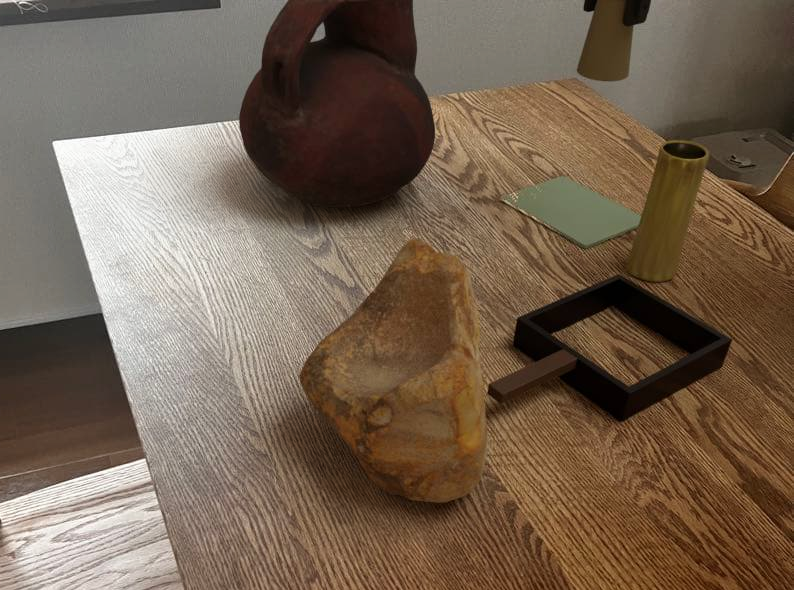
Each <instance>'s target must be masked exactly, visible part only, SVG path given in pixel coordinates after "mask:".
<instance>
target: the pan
mask: <svg viewBox="0 0 794 590" xmlns="http://www.w3.org/2000/svg"><path fill="white" fill-rule="evenodd" d="M612 307H613V308H614V309H616V310H617V311H619V312H621V313H623V314H624V315H626V316H627V317H629V318H631V319H632V320H633V321H636V322H637V323H639V324H640V325H642V326H644V327H645V328H647V329H649V330H651V331H652V332H654V333H655V334H658V336H660V337H662V338H664V339H665V340H667V341H668V342H670V343H671V344H673V345H675V346H677V347H678V348H680V349H682V350H683V351H685V352H687V353H688V354H689V355H686V356H684V357H683V358H681V359H679V360H677V361H675V362H674V363H671V364H669V365H668V366H666V367H663V368H662V369H660V370H658V371H656V372H654V373H652V374H650V375H648V376H646V377H645V378H642V379H640V380H639V381H636V382H635V383H633V384H631V385H628V384H627V383H625V382H623V381H622V380H620V379H619V378H617V377H616V376H614V375H612V373H610V372H608V371H607V370H605V369H604V368H603V367H601V366H599V365H598V364H597V363H595V362H593V361H592V360H591V359H588V358H587V357H585V356H584V355H583V354H581V352H578V351H577V350H576V349H574V348H572V347H571V346H570V345H567V344H566V343H564V341H562V340H560V339H559V338H558V337H555V336H554V335H553V334H554V333H555V334H556V333H557V332H559V331H561V330H563V329H566V328H567V327H570V326H572V325H574V324H577V323H579V322H581V321H583V320H585V319H588V318H590V317H592V316H594V315H597V314H599V313H601V312H603V311H606V310H607V309H610V308H612ZM512 341H513V342H512V347H514V348H515V349H516V350H518V351H519V352H520V353H522V354H523V355H525V356H526V357H528V358H529V359H530V360H532V361H533V363H530V364H528V365H526V366H524V367H521V368H520V369H518V370H515V371H513V372H511V373H509V374H507V375H505V376H503V377H501V378H498V379H496V380H494V381H492V382H490V383H488V387H487V393H486V394H487V395H488V396H489V397H490V398H492V399H493V400H495V402H497V403H498V404H500V405H503V404H505V403H507V402H509V401H511V400H514V399H515V398H518V397H519V396H521V395H523V394H526V393H527V392H530V391H532V390H534V389H536V388H538V387H540V386H542V385H544V384H546V383H548V382H550V381H552V380H555V379H556V378H558V379H559V380H561V381H562V382H563V383H564V384H565V385H568V386H569V387H570V388H571V389H573V390H574V391H576V392H577V393H579V394H580V395H581V396H582V397H584V398H586V399H587V400H588V401H590V402H591V403H593V404H595V405H596V406H597V407H599V408H600V409H601V410H603V411H604V412H606V413H607V414H609V415H610V416H612V417H613V418H614V419H616V420H617V421H619V422H620V423H622V422H624V421H626V420H627V419H628V420H629V418H631V417H634V416H635V415H637V414H640V413H641V412H642V411H644V410H646V409H648V408H651V406H653V405H655V404H657V403H659V402H661V401H663V400H664V399H667V398H668V397H671V396H672V395H674V394H675V393H678V392H679V391H681V390H683V389H684V388H687V387H689V386H690V385H692V384H694V383H697V382H698V381H699V380H701V379H703V378H705V377H707V376H709V375H711V374H712V373H714V372H716V371H718V370H720V369H722V368H723V365H724V363H725V361H726V358H727V355H728V352H729V350H730V347H731V345H732V342H733V338H731V337H729V336H727V335H726V334H724V333H723V332H721V331H719V330H718V329H716V328H714V327H712V326H711V325H708V323H705V322H704V321H702V320H700V319H698V318H696V317H695V316H693V315H691V314H689V313H688V312H686V311H684V310H682V309H681V308H679V307H677V306H676V305H674V304H673V303H670V302H669V301H667V300H665V299H664V298H662V297H660V296H658V295H657V294H655V293H653V292H651V291H649V290H648V289H646V288H644V287H643V286H641V285H639V284H637V283H635V282H634V281H632V280H630V279H629V278H627V277H625V276H624V275H622V274H620V273H617V274H615V275H613V276H610V277H608V278H606V279H604V280H603V279H602V281H599V282H597V283H594V284H592V285H589V286H588V287H587V286H586V287H585V288H582V289H580V290H578V291H575V292H574V293H571V294H569V295H567V296H564V297H562V298H558V299H557V300H554V301H553V302H551V303H548V304H545V305H543V306H541V307H539V308H536V309H534V310H532V311H530V312H527V313H525V314H523V315H520V316H518V317H516V323H515V329H514V335H513V340H512Z"/></svg>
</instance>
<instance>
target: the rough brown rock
mask: <svg viewBox="0 0 794 590" xmlns="http://www.w3.org/2000/svg"><path fill="white" fill-rule="evenodd" d="M480 335H481V333H480V321H479V311H478V304H477V300H476V295H475V291H474V288H473V283H472V278H471V275H470V272H469V270H468V269H467V267H466V265H465V264H464V262H463V261H462V260H461V259H460V258H458V257H457V256H455V255H453V254H450V253H445V252H442V251H437V250H435V249H434V248H432V246H431V245H429V244H428V243H427V242H426V241H424V240H422V239H421V238H419V237H413V238H411V239H410V240H408V241H407V242H405V244H404V245H403V246H402V247H401V249H400V250H399V251H398V253H397V254H396V256H395V258H394V259H393V261H392V262H391V264H390V265H389V267H388V268H387V270H386V272H385V273H384V274H383V276H382V278H381V280H380V281H379V282H378V283H377V285H376V286H375V288H374V289H373V290H372V291H371V292H370V293H369V295H368V296H366V297H365V299H364V300H363V301H362V303H361V304H360V305H359V306H358V307H357V308H356V310H355V311H354V312H353V313H352V314H351V315H350V316H349V317H348V318H347V319H346V320H344V321H343V322H341V323H340V324H339V325H338V326H337V327H336V328H335V329H334V330H333V331H332V332H331V333H329V334H328V335H326V336H325V337H324V338H323V339H321V340H320V341H319V343H318V345H317V346H316V347H315V349H314V350H313V351H312V352H311V353H310V355H308V357H307V358H306V360H305V362H304V363H303V366H302V368H301V369H300V373H299V375H298V376H299V381H300V385H301V387H302V389H303V391H304V394H305V395H306V397H307V399H308V400H309V402H310V403H311V404H312V406H313V408H314V410H315V412H316V413H317V414H318V416H319V417H320V418H321V419H322V420H323V421H324V422H325V424H328V426H330V428H331V429H332V430H333V431H334V433H336V434H337V435H338V436H339V437H340V438H342V440H343V441H344V442H345V444H346V445H347V446H348V447H349V448H350V449H351V451H352V452H353V454H354V456H355V457H356V458H357V460H358V462H359V464H360V465H361V466H362V468H363V469H364V471H365V472H366V474H367V475H368V477H369V479H371V480H372V482H373V483H374V484H375V485H376V486H377V487H378V488H379V489H380V490H381V491H383V492H386V493H388V494H389V495H391V496H395V495H398V496H401V497H404V498H405V499H408V500H410V501H417V502H427V503H448V502H451V501H454V500H458V499H461V498H463V497H465V496H466V495H469V494H470V493H471V492H472V491H473V490H475V489H476V487H477V486H478V485H479V484H480V481H481V480H482V478H483V473H484V470H485V469H484V468H485V465H486V461H487V457H488V451H487V437H488V435H487V433H488V432H487V431H488V430H487V415H486V414H487V413H486V405H485V394H484V382H483V381H484V380H483V374H482V368H481V356H480V355H481V354H480V342H481V336H480Z"/></svg>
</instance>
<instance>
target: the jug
mask: <svg viewBox="0 0 794 590" xmlns="http://www.w3.org/2000/svg"><path fill="white" fill-rule="evenodd" d="M414 17H415V15H414V0H287V2H286V3H285V4H284V5H283V7H282V8H281V10H280V11H279V13H278V14H277V16H276V17H275V19H274V20H273V22H272V24H271V26H270V27H269V30H268V32H267V34H266V36H265V40H264V44H263V47H262V52H261V66H260V67H261V68H260V69H259V70H258V71H257V72H256V73H255V74H254V76H253V78H252V80H251V82H250V83H249V85H248V87H247V89H246V91H245V94H244V96H243V98H242V102H241V105H240V110H239V116H238V126H239V132H240V136H241V141H242V145H243V147H244V150H245V152H246V154H247V156H248V158H249V159H250V160H251V162H252V163H253V165H254V166H255V167H256V169H257V170H258V171H259V172H260V174H262V176H264V177H265V178H266V179H267V180H268V181H269V182H270V183H272V184H273V185H275V186H276V187H277V188H278V189H280V190H281V191H283V192H284V193H286V194H288V195H290V196H291V197H293V198H295V199H297V200H300V201H301V202H305V203H308V204H310V205H314V206H315V205H316V206H320V207H328V208H349V207H358V206H364V205H368V204H369V205H370V204H373V203H376V202H379V201H382V200H385V199H387V198H389V197H390V196H392V195H394V194H396V193H397V192H399V191H401V190H402V189H403V188H405V187H406V186H407V185H409V184H410V183H412V182H413V181H414V180H415V179H416V178H417V177H418V176H419V174H421V172H422V171H423V170H424V168H425V166H426V164H427V162H428V161H429V159H430V157H431V155H432V152H433V149H434V145H435V140H436V125H435V124H436V123H435V120H434V114H433V109H432V105H431V101H430V99H429V96H428V94H427V92H426V91H425V88H424V86H423V84H422V83H421V81H419V79H418V78H417V76H416V64H417V58H418V41H417V40H418V39H417V34H416V27H415V26H416V25H415V18H414ZM322 24H323V28H324V37H322V38H321V39H318V40H313V38H314V36H315V35H316V33H317V30H318V28H319V27H320V26H321V25H322ZM312 40H313V41H312Z"/></svg>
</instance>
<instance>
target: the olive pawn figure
mask: <svg viewBox="0 0 794 590" xmlns="http://www.w3.org/2000/svg"><path fill="white" fill-rule="evenodd" d="M626 4H627V0H597V3H596V6H595V9H594V11H593V13H592V17H591V19H590V24H589V26H588V30H587V33H586V36H585V40H584V44H583V46H582V50H581V54H580V57H579V60H578V64H577V66H576V72H577V74H578V75H580V76H581V77H583V78H586V79H589V80H593V81H598V82H620V81H624V80H626V79H627V78H628V77H629V76H630V75H629V74H630V67H631V65H630V64H631V54H632V46H633V36H634V35H633V34H634V26H635V25H633V26H629V27H628V26H625V25H624V24H623V18H624V13H625V8H626Z"/></svg>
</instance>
